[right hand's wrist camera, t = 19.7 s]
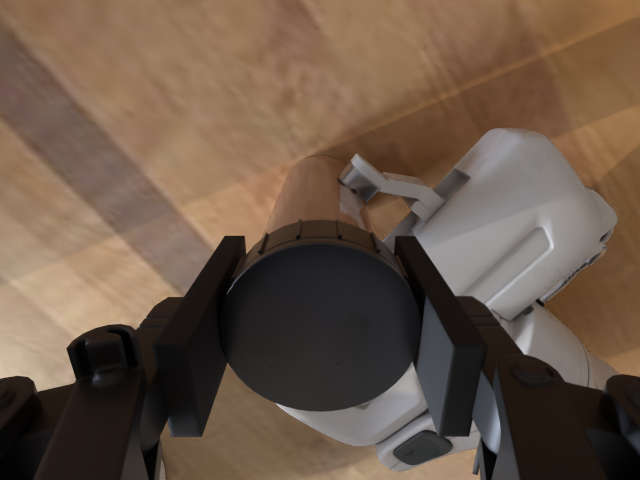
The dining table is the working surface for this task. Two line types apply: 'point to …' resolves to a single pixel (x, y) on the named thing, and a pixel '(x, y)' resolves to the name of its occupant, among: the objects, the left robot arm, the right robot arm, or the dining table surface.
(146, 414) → the right robot arm
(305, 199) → the jar
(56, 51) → the dining table surface
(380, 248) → the lid
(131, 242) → the dining table surface
